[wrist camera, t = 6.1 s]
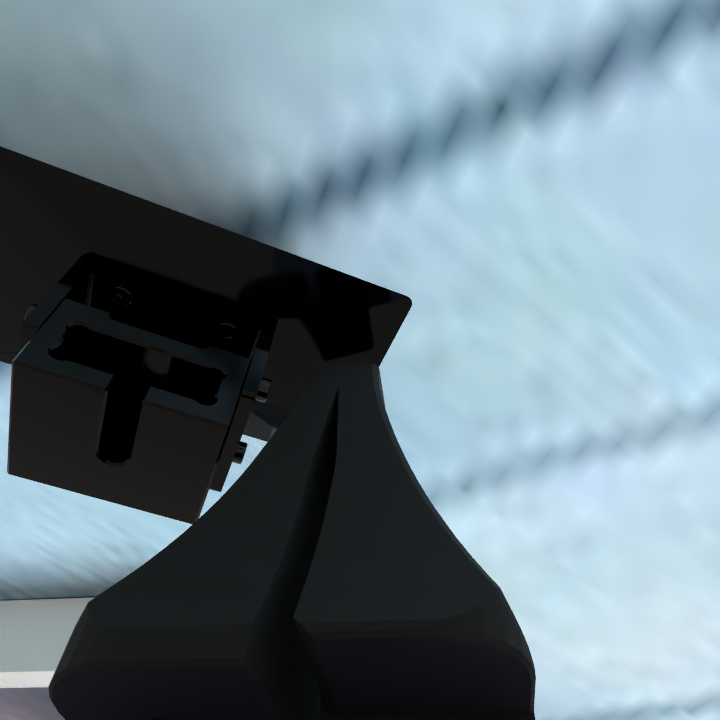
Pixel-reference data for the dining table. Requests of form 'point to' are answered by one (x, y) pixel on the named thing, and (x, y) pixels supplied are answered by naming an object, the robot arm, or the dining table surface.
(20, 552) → the dining table surface
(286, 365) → the black boxy piece
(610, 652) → the dining table surface
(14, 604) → the walled lane
